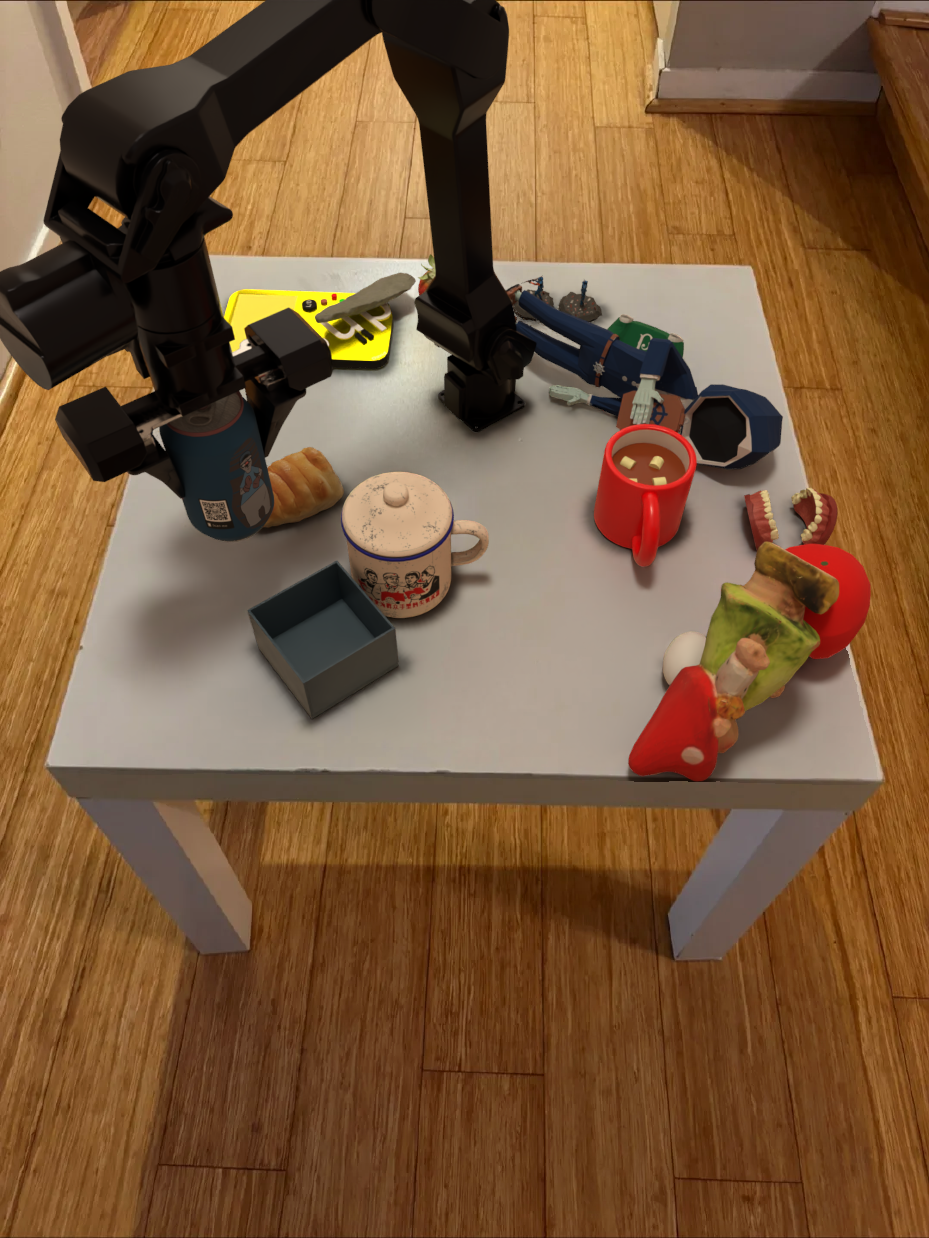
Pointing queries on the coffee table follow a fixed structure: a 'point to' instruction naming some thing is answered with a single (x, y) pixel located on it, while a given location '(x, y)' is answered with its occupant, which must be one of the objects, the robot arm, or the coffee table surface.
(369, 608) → the bin
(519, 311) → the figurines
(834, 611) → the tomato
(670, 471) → the mug
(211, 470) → the soda can
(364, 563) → the teacup with lid
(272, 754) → the coffee table surface
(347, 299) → the stone
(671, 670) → the egg
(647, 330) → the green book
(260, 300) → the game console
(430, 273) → the fruit
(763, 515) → the dentures
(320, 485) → the pastry
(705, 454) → the figurine
